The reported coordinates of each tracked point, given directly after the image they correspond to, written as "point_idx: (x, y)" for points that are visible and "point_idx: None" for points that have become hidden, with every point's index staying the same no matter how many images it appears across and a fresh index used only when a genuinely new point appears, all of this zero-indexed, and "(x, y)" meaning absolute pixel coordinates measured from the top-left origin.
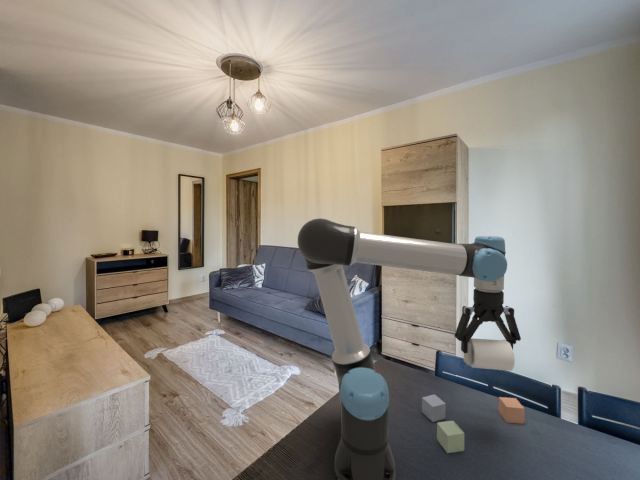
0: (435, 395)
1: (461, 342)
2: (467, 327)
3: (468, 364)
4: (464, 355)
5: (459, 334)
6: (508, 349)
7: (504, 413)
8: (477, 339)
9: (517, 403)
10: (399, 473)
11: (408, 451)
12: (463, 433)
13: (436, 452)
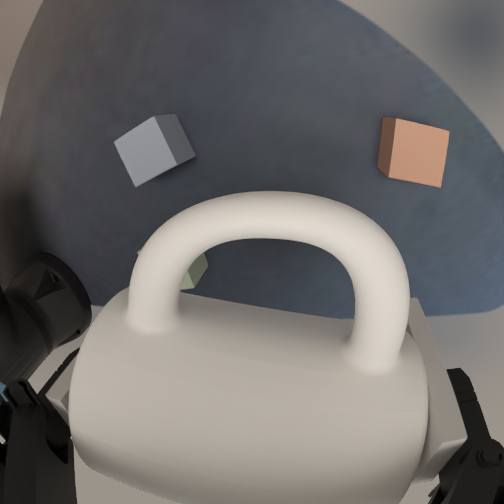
0: (155, 122)
1: (43, 393)
2: (8, 497)
3: None
4: None
5: (4, 459)
6: None
7: (383, 157)
8: (127, 478)
9: (436, 159)
10: (96, 304)
11: (104, 265)
12: (191, 287)
13: None
